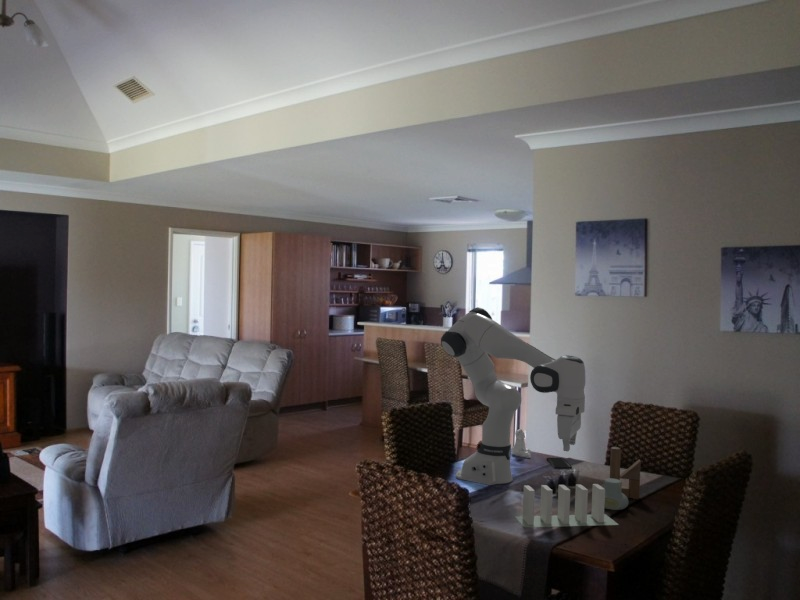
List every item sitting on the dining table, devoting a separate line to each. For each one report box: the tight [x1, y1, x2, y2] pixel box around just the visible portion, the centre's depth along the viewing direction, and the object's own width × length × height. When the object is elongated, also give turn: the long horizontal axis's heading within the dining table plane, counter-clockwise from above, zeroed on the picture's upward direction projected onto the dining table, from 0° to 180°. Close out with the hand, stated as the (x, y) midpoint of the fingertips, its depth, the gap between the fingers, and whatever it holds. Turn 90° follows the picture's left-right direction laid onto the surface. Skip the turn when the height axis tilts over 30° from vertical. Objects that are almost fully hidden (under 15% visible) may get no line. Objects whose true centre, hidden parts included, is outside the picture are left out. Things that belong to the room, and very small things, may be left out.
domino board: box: [514, 513, 620, 529], centre depth 224 cm, size 32×10×1 cm, turn 98°
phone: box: [546, 457, 573, 470], centre depth 297 cm, size 8×1×15 cm
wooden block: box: [609, 446, 642, 500], centre depth 253 cm, size 4×11×18 cm, turn 76°
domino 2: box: [539, 484, 554, 524], centre depth 222 cm, size 2×6×11 cm, turn 9°
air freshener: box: [603, 477, 629, 511], centre depth 240 cm, size 11×8×10 cm
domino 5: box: [591, 483, 605, 523], centre depth 225 cm, size 2×6×11 cm, turn 8°
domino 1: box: [522, 484, 536, 525], centre depth 221 cm, size 2×6×11 cm, turn 9°
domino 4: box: [574, 484, 589, 523], centre depth 224 cm, size 2×6×11 cm, turn 8°
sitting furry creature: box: [511, 428, 532, 459], centre depth 310 cm, size 10×9×12 cm
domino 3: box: [556, 484, 571, 524], centre depth 223 cm, size 2×6×11 cm, turn 9°
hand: (569, 447), depth 223 cm, fingers open, 8 cm apart
